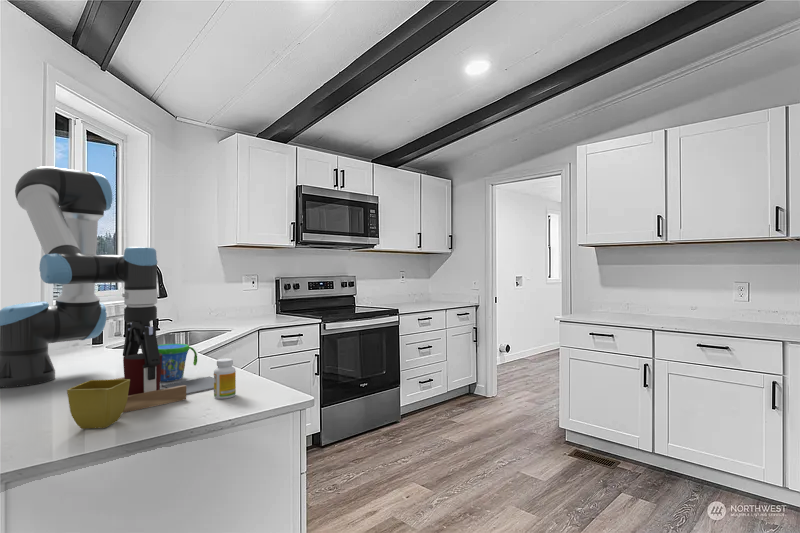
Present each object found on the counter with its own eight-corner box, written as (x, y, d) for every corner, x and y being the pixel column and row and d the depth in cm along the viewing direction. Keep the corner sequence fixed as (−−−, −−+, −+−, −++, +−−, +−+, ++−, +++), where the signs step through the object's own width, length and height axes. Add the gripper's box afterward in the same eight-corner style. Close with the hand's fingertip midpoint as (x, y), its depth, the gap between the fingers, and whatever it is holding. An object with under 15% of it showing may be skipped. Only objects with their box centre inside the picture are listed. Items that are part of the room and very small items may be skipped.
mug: (114, 396, 122) (114, 354, 122) (150, 389, 129) (150, 350, 129) (130, 405, 114) (130, 360, 114) (167, 397, 121) (167, 355, 121)
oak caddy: (80, 397, 121) (80, 384, 121) (152, 384, 134) (152, 372, 134) (108, 415, 106) (108, 400, 106) (186, 399, 119) (186, 385, 119)
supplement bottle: (239, 394, 124) (239, 358, 124) (226, 400, 119) (226, 362, 119) (223, 392, 126) (223, 357, 126) (209, 398, 121) (209, 360, 121)
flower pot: (90, 419, 104) (90, 379, 104) (131, 418, 105) (131, 378, 105) (65, 433, 95) (65, 389, 95) (110, 431, 96) (110, 388, 96)
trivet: (161, 386, 132) (161, 385, 132) (209, 377, 143) (209, 376, 143) (183, 395, 123) (183, 394, 123) (232, 385, 133) (232, 384, 133)
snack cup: (194, 372, 149) (194, 341, 149) (200, 379, 141) (200, 346, 141) (138, 379, 141) (138, 346, 141) (141, 386, 132) (141, 351, 132)
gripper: (109, 304, 127) (109, 382, 127) (142, 309, 111) (142, 399, 111) (139, 302, 132) (139, 377, 132) (174, 307, 116) (174, 393, 116)
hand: (140, 388), depth 122 cm, fingers closed on mug, 12 cm apart
